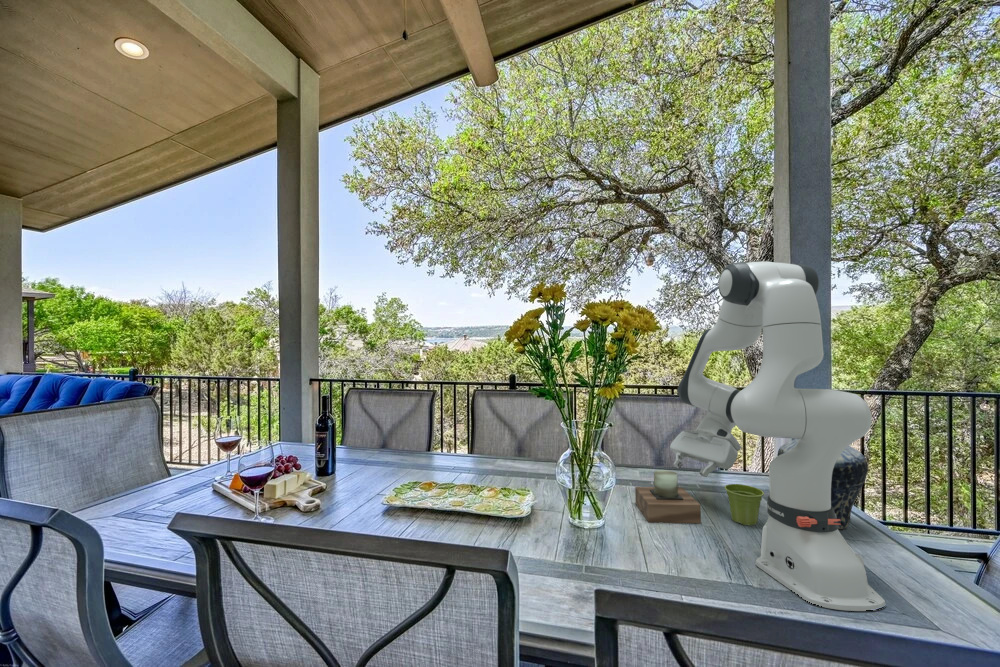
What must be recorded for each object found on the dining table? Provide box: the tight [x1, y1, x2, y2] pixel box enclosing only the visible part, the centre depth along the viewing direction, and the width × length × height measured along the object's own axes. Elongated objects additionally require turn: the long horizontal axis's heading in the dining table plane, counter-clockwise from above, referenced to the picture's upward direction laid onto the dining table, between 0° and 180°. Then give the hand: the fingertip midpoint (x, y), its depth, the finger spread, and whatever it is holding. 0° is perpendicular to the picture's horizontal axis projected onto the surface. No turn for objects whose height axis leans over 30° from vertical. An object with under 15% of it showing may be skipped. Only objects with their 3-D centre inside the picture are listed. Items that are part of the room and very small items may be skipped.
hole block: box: [634, 486, 702, 524], centre depth 122 cm, size 14×14×5 cm
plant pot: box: [724, 483, 765, 526], centre depth 116 cm, size 9×9×9 cm
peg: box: [653, 469, 679, 498], centre depth 122 cm, size 6×6×10 cm
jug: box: [776, 438, 869, 530], centre depth 115 cm, size 21×19×30 cm
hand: (689, 470), depth 127 cm, fingers open, 8 cm apart
